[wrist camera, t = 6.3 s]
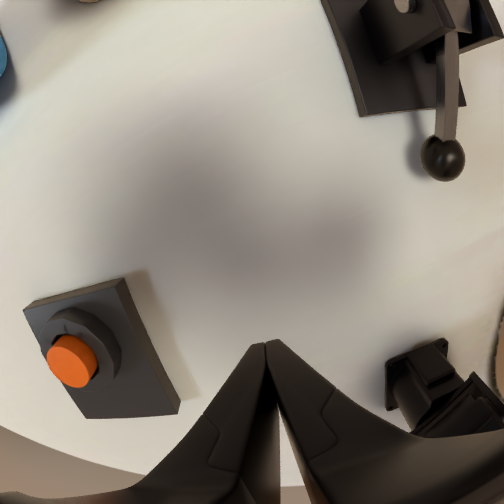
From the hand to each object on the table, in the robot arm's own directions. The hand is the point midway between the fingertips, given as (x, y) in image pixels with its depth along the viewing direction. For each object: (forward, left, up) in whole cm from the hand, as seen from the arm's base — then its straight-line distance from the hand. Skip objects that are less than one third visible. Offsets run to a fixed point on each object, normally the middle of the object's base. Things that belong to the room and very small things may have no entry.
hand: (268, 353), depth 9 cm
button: (-4, +15, -9) cm, 18 cm away
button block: (-6, +15, -12) cm, 20 cm away
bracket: (+12, -13, -12) cm, 22 cm away
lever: (+8, -13, -9) cm, 18 cm away
